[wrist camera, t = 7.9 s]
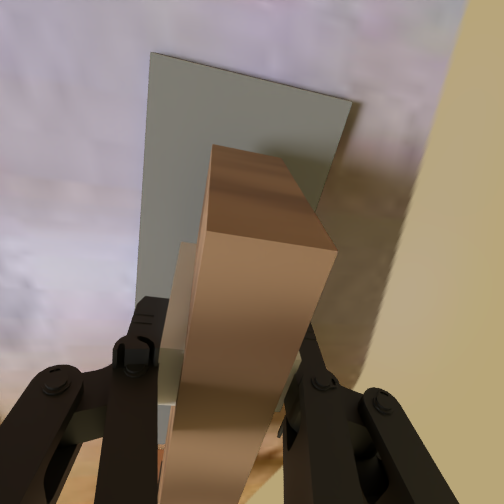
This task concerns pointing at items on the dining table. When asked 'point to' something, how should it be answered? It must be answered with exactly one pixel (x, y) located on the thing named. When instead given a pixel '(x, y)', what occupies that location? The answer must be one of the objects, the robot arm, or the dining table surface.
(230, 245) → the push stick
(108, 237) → the dining table surface
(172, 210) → the mat
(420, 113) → the dining table surface
